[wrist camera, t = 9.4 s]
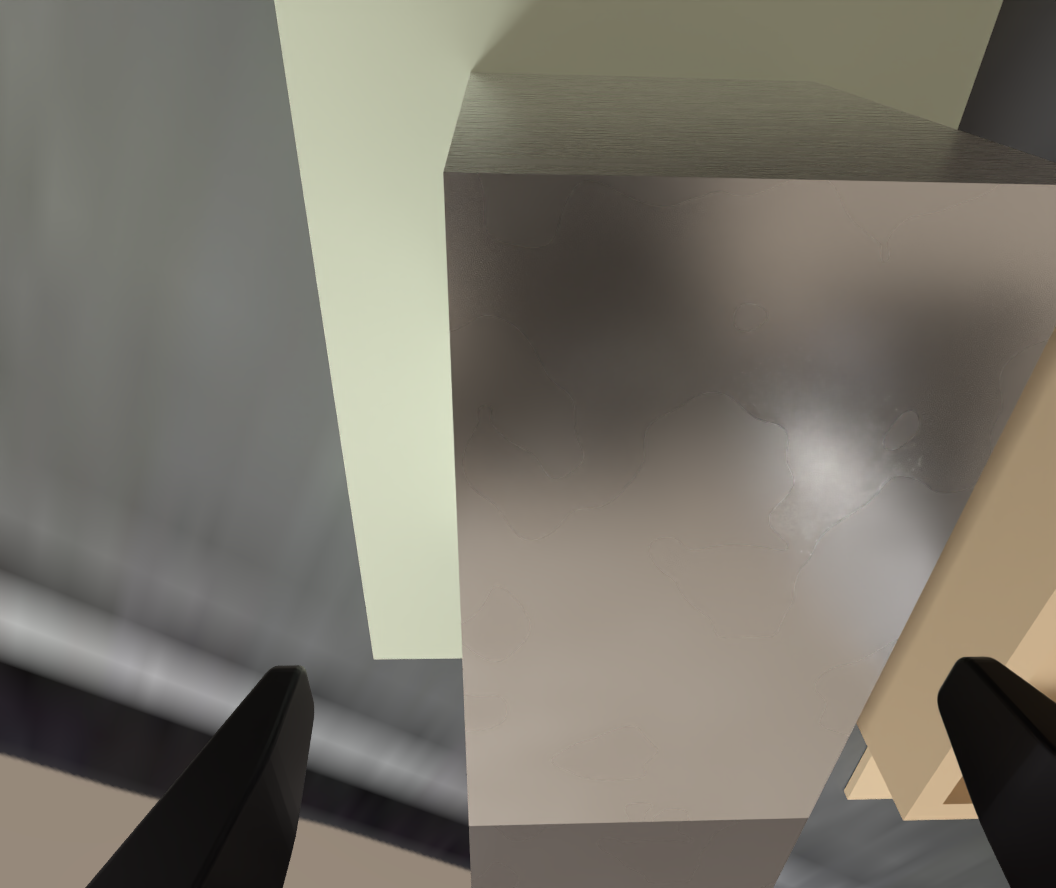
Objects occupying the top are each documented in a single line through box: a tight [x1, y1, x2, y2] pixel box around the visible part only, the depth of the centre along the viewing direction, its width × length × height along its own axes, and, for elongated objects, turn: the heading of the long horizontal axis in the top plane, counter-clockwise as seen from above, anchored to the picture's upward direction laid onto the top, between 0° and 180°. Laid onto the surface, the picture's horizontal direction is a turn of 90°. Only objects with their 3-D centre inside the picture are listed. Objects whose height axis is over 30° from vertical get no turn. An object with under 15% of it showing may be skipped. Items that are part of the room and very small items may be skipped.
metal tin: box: [443, 72, 1056, 888], centre depth 11 cm, size 12×5×6 cm, turn 178°
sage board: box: [274, 0, 1003, 659], centre depth 14 cm, size 14×10×1 cm
